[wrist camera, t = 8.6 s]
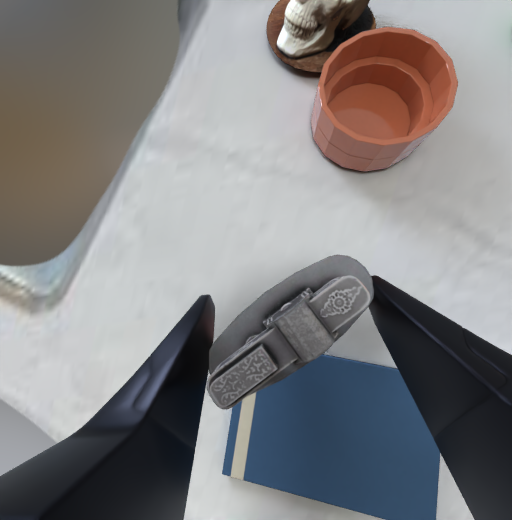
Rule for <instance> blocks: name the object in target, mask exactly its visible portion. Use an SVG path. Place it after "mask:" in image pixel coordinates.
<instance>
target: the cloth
mask: <svg viewBox="0 0 512 520" xmlns="http://www.w3.org/2000/svg"><path fill="white" fill-rule="evenodd" d="M439 463H440V451H439V449H438V447H437V445H436V443H435V441H434V439H433V436H432V435H431V433H430V431H429V429H428V427H427V425H426V423H425V421H424V419H423V417H422V415H421V413H420V411H419V409H418V407H417V405H416V403H415V401H414V399H413V397H412V396H411V394H410V392H409V390H408V388H407V386H406V384H405V382H404V380H403V378H402V376H401V374H400V372H399V370H398V369H395V368H390V367H385V366H380V365H374V364H369V363H364V362H359V361H354V360H349V359H344V358H339V357H333V356H328V355H323V354H322V355H320V356H319V357H318V358H316V359H315V360H313V361H311V362H310V363H308V364H307V365H305V366H303V367H302V368H300V369H299V370H297V371H296V372H294V373H292V374H291V375H289V376H288V377H286V378H284V379H283V380H281V381H279V382H277V383H275V384H272V385H270V386H268V387H266V388H264V389H262V390H260V391H257V392H255V393H253V394H251V395H249V396H247V397H246V398H244V399H243V400H242V401H240V402H239V403H238V404H236V405H235V406H233V409H232V415H231V421H230V427H229V434H228V440H227V446H226V452H225V459H224V465H223V471H222V474H223V475H227V476H231V477H233V478H236V479H240V480H245V481H249V482H252V483H256V484H260V485H263V486H267V487H270V488H274V489H278V490H281V491H285V492H288V493H292V494H296V495H299V496H303V497H306V498H310V499H314V500H317V501H321V502H324V503H328V504H332V505H335V506H339V507H342V508H346V509H350V510H353V511H357V512H360V513H364V514H368V515H371V516H375V517H378V518H382V519H386V520H436V509H437V494H438V478H439Z"/></svg>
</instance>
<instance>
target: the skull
mask: <svg viewBox="0 0 512 520" xmlns="http://www.w3.org/2000/svg"><path fill="white" fill-rule="evenodd" d="M369 1H370V0H280V1H278V3H277V4H276V5H275V7H274V8H273V9H272V11H271V13H270V15H269V18H268V22H267V37H268V41H269V43H270V45H271V47H272V49H273V51H274V52H275V54H276V55H277V56H278V58H280V59H281V60H282V61H283V62H285V63H286V64H288V65H290V66H293V67H295V68H299V69H302V70H304V71H309V72H310V71H311V72H322V70H323V66H324V64H325V62H326V61H327V60H328V58H329V57H330V56H331V55H332V53H333V52H334V51H335V50H336V49H337V47H338V46H339V45H340V44H342V43H343V42H345V41H347V40H349V39H350V38H352V37H354V36H355V35H357V34H359V33H361V32H364V31H369V30H373V29H376V23H375V18H374V17H373V14H372V12H371V11H370V8H369V7H368V3H369ZM272 13H273V14H272Z"/></svg>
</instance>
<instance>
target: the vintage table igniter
mask: <svg viewBox="0 0 512 520" xmlns="http://www.w3.org/2000/svg"><path fill="white" fill-rule="evenodd" d="M372 282H373V281H372V277H371V276H370V274H369V272H368V271H367V269H366V268H365V267H364V266H363V265H362V264H361V263H360V262H358V261H357V260H355V259H353V258H351V257H349V256H345V255H334V256H330V257H327V258H325V259H323V260H321V261H319V262H317V263H314V264H312V265H310V266H308V267H306V268H304V269H302V270H300V271H298V272H296V273H294V274H293V275H291V276H290V277H288V278H287V279H285V280H284V281H282V282H280V283H279V284H277V285H276V286H274V287H273V288H271V289H270V290H268V291H266V292H265V293H264V294H263V295H262V296H260V297H259V298H258V299H257V300H256V301H255V302H253V303H252V304H251V305H250V306H249V307H248V308H247V309H245V310H244V311H243V312H242V313H241V314H240V315H238V316H237V318H236V319H235V320H234V321H233V322H232V323H231V324H230V325H229V326H228V327H227V329H226V330H225V331H224V332H223V333H222V334H221V335H220V336H219V337H218V338H217V340H216V341H215V342H214V343H213V345H212V347H211V348H210V350H209V372H210V374H211V376H210V377H209V379H208V381H207V390H208V393H209V395H210V397H211V398H212V400H213V402H214V403H215V404H216V405H217V406H218V407H219V408H221V409H229V408H231V407H233V406H235V405H236V404H238V403H239V402H240V401H242V400H243V399H244V398H246V397H247V396H249V395H251V394H253V393H255V392H257V391H260V390H262V389H264V388H266V387H268V386H270V385H272V384H275V383H277V382H279V381H281V380H283V379H284V378H286V377H288V376H289V375H291V374H292V373H294V372H296V371H297V370H299V369H300V368H302V367H303V366H305V365H307V364H308V363H310V362H311V361H313V360H315V359H316V358H318V357H319V356H320V355H322V354H323V353H324V352H326V351H327V350H328V349H329V348H330V347H331V346H332V344H333V343H334V342H335V341H336V340H338V339H339V338H340V337H341V336H342V335H343V334H344V333H345V332H346V331H347V330H348V329H349V328H350V327H351V325H352V324H353V323H354V322H355V321H356V320H357V319H358V318H359V316H360V315H361V314H362V313H363V312H364V311H365V310H366V309H367V307H368V306H369V305H370V303H371V301H372V299H373V295H374V289H373V284H372Z"/></svg>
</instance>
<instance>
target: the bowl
mask: <svg viewBox="0 0 512 520" xmlns="http://www.w3.org/2000/svg"><path fill="white" fill-rule="evenodd" d="M457 86H458V81H457V77H456V73H455V69H454V65H453V61H452V59H451V58H450V57H449V56H448V54H447V53H446V52H445V51H444V50H443V48H442V47H441V46H440V45H439V44H438V43H437V42H436V41H435V40H433V39H431V38H429V37H427V36H425V35H423V34H421V33H419V32H417V31H415V30H411V29H402V28H394V27H383V28H378V29H373V30H369V31H364V32H361V33H359V34H357V35H355V36H354V37H352V38H350V39H349V40H347V41H345V42H343V43H342V44H340V45H339V46H338V47H337V49H336V50H335V51H334V52H333V53H332V55H331V56H330V57H329V58H328V60H327V61H326V62H325V64H324V66H323V70H322V73H321V76H320V80H319V83H318V87H317V92H316V97H315V102H314V107H313V112H312V117H311V125H312V132H313V138H314V140H315V142H316V143H317V145H318V146H319V148H320V149H321V151H322V152H323V154H324V155H325V156H326V157H328V158H329V159H331V160H332V161H334V162H335V163H337V164H338V165H340V166H341V167H345V168H350V169H354V170H359V171H371V170H378V169H385V168H388V167H390V166H391V165H393V164H395V163H397V162H399V161H400V160H402V159H404V158H406V157H407V156H408V155H409V154H410V153H411V152H412V151H413V150H414V149H415V148H416V147H417V146H418V145H419V144H420V143H421V142H422V141H423V140H424V139H425V138H426V137H427V136H428V135H429V134H431V133H432V132H433V131H434V130H435V129H436V128H437V126H438V125H439V124H440V123H441V121H442V120H443V119H444V118H445V116H446V115H447V114H448V113H449V111H450V110H451V109H452V107H453V103H454V99H455V95H456V90H457Z"/></svg>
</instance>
